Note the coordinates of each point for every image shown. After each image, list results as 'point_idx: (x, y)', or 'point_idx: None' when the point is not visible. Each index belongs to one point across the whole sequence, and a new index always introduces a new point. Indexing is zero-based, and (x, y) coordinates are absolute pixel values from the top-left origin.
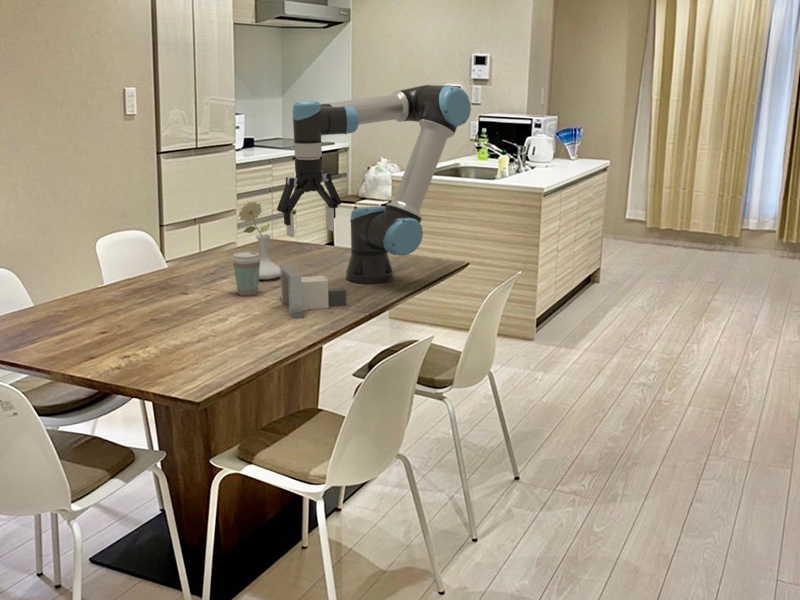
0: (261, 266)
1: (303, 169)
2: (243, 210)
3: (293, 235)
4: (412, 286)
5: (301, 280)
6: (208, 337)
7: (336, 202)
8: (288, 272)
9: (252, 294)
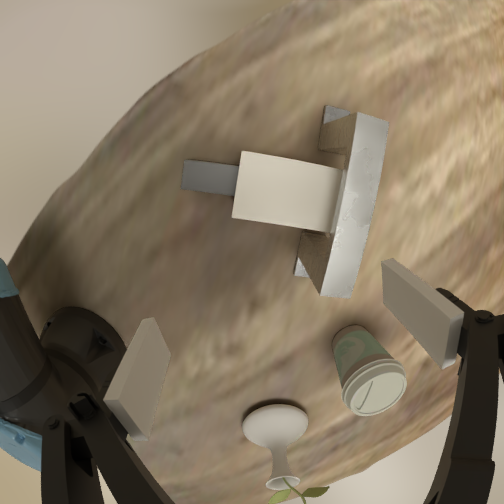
0: (289, 428)
1: None
2: None
3: (388, 262)
4: (26, 257)
5: (316, 189)
6: (484, 100)
7: (72, 434)
8: (378, 169)
9: (350, 326)
